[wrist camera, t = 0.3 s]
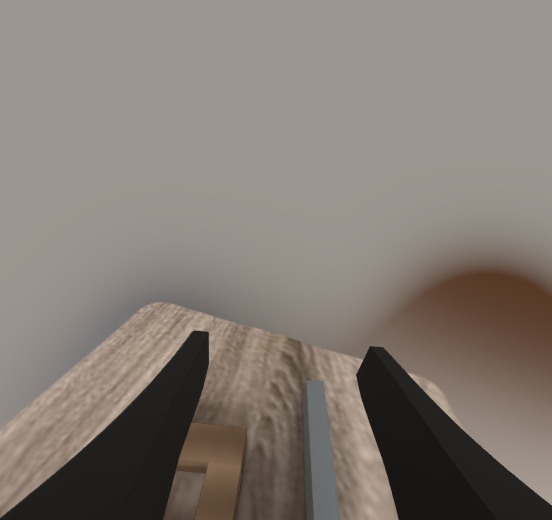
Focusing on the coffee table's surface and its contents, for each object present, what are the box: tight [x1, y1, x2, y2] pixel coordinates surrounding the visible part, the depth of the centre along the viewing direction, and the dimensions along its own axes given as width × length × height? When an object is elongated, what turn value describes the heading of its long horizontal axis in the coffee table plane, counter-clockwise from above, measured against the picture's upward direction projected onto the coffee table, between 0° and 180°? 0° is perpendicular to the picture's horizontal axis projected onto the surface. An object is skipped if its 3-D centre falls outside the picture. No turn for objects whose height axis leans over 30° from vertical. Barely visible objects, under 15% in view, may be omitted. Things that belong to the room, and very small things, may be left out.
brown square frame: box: [176, 422, 247, 520], centre depth 19 cm, size 12×12×3 cm
